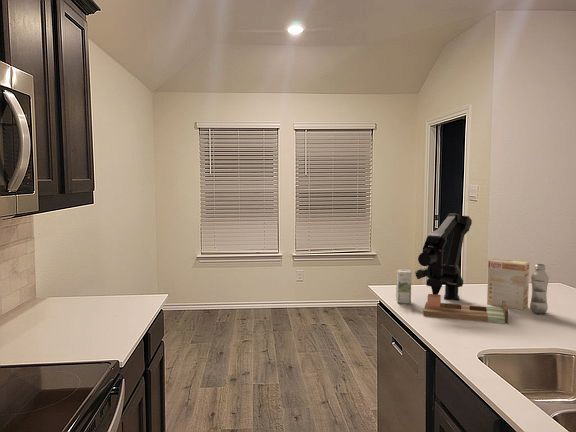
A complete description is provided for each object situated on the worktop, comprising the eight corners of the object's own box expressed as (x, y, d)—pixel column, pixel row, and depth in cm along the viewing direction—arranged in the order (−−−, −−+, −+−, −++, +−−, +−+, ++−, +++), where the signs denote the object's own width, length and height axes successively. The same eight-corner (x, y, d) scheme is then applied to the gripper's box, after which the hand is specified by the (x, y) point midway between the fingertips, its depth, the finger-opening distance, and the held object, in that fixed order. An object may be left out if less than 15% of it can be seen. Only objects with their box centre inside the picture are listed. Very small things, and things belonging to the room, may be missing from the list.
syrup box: (408, 300, 213) (409, 269, 212) (411, 304, 207) (411, 271, 206) (396, 300, 214) (396, 268, 213) (397, 303, 208) (398, 271, 207)
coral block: (428, 302, 202) (428, 293, 201) (440, 303, 200) (440, 294, 200) (427, 306, 197) (427, 296, 197) (439, 307, 195) (440, 297, 195)
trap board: (426, 306, 204) (426, 294, 203) (504, 313, 193) (504, 301, 193) (423, 315, 190) (423, 303, 190) (507, 323, 179) (508, 310, 179)
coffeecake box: (528, 307, 201) (530, 262, 200) (523, 310, 196) (524, 264, 195) (492, 300, 212) (493, 258, 210) (486, 304, 206) (487, 260, 205)
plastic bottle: (546, 311, 194) (548, 263, 193) (548, 316, 188) (550, 266, 186) (529, 309, 197) (531, 262, 195) (530, 314, 191) (531, 265, 189)
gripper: (418, 258, 215) (417, 291, 217) (414, 265, 198) (413, 302, 199) (444, 259, 211) (443, 293, 213) (442, 267, 194) (441, 304, 195)
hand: (435, 298), depth 205 cm, fingers closed
